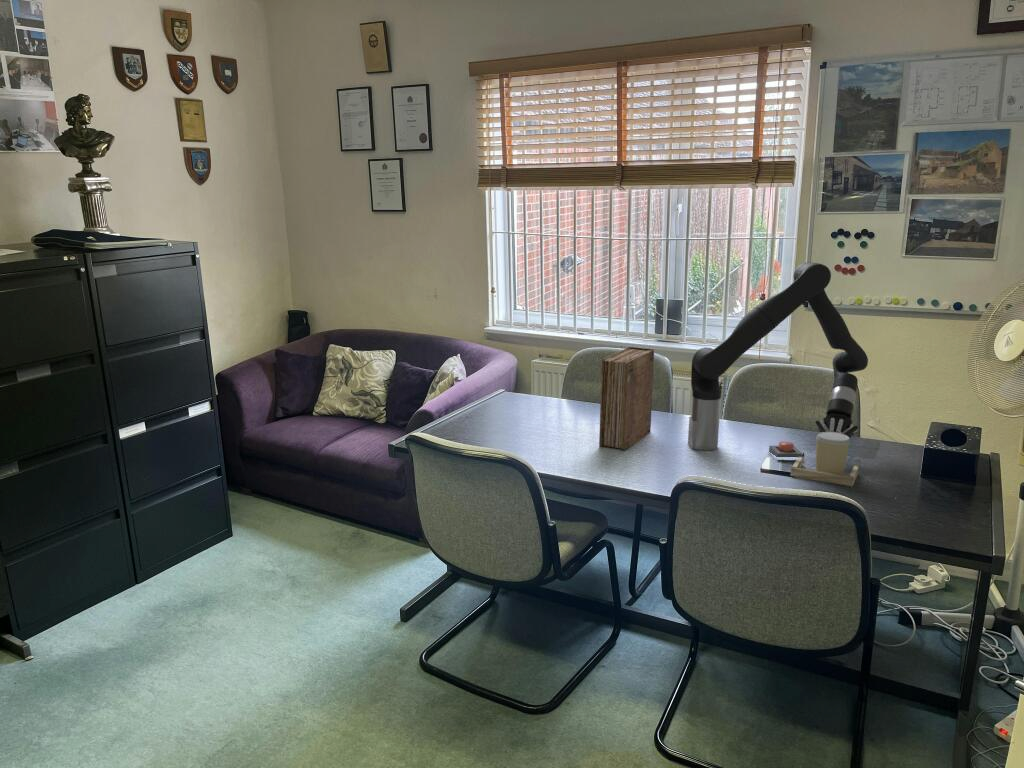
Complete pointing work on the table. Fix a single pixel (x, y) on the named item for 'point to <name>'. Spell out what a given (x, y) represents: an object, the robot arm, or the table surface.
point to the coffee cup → (831, 452)
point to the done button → (786, 446)
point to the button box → (777, 453)
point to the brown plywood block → (626, 397)
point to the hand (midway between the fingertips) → (831, 450)
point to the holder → (823, 474)
